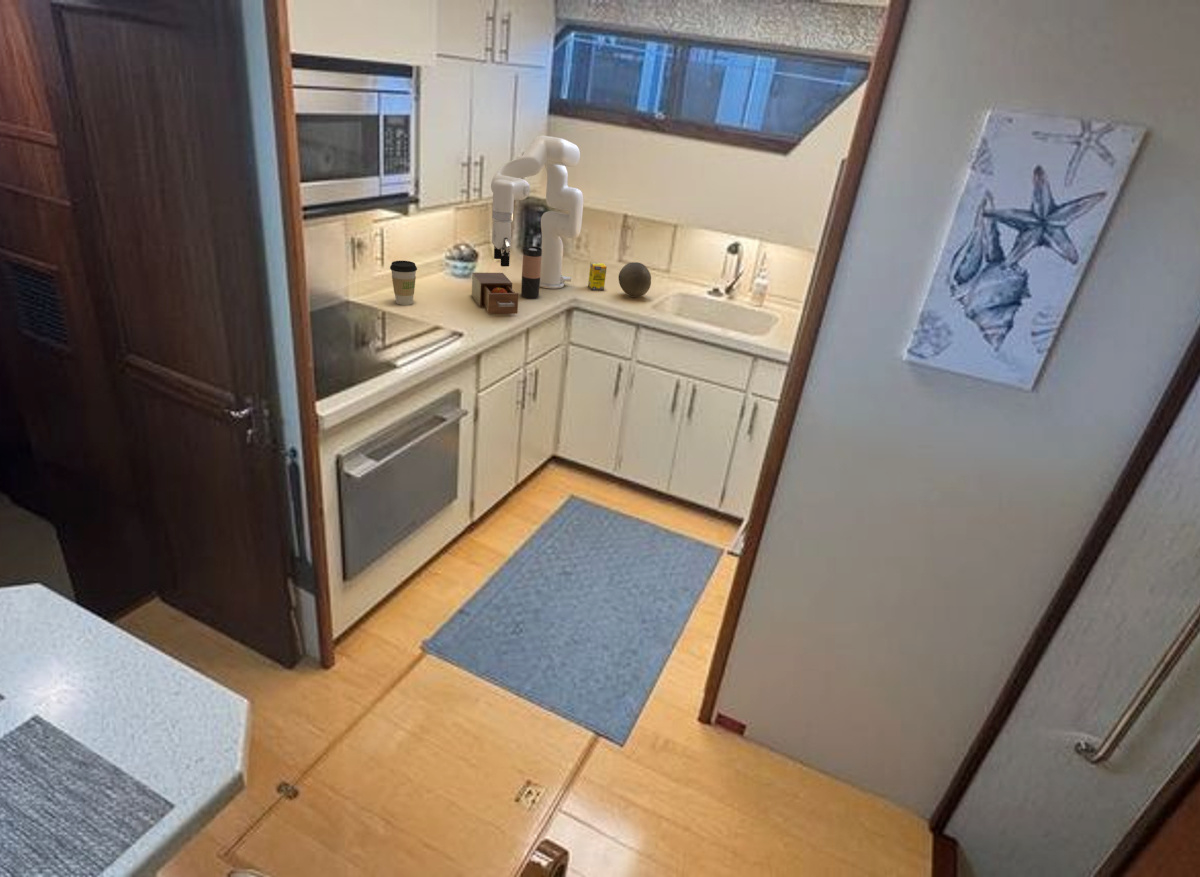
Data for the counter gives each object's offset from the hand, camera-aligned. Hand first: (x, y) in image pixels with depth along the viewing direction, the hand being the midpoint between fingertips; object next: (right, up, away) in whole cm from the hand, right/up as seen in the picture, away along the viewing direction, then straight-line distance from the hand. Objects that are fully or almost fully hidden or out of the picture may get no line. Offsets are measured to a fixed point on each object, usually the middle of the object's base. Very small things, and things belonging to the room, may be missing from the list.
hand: (501, 262), depth 260 cm
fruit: (-2, -15, +8) cm, 17 cm away
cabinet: (-7, -11, +18) cm, 22 cm away
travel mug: (+8, -7, +30) cm, 31 cm away
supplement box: (+35, +1, +51) cm, 62 cm away
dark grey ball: (+52, -4, +45) cm, 69 cm away
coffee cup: (-38, -14, +5) cm, 41 cm away
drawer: (-2, -17, +7) cm, 18 cm away
